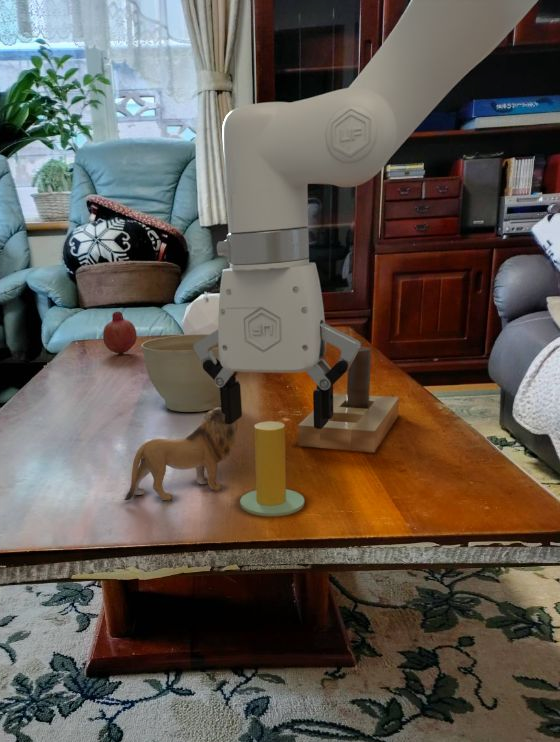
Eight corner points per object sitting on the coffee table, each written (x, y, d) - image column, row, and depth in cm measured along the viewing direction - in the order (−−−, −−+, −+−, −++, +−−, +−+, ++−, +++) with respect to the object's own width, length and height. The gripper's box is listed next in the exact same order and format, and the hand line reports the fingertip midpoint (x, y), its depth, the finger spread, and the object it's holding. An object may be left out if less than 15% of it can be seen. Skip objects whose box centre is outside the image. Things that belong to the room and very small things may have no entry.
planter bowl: (261, 407, 111) (259, 340, 107) (172, 425, 104) (167, 355, 100) (213, 389, 125) (210, 329, 121) (132, 404, 118) (126, 341, 114)
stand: (398, 416, 102) (399, 397, 101) (374, 453, 88) (374, 430, 87) (331, 412, 107) (331, 393, 105) (297, 446, 92) (297, 425, 91)
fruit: (119, 358, 157) (115, 314, 154) (97, 355, 163) (93, 312, 159) (145, 352, 163) (141, 309, 159) (123, 349, 168) (119, 308, 164)
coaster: (312, 495, 76) (312, 491, 76) (293, 520, 70) (293, 516, 70) (253, 488, 79) (253, 485, 79) (230, 511, 73) (230, 508, 73)
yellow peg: (289, 496, 75) (288, 422, 72) (280, 507, 72) (279, 431, 69) (262, 493, 76) (260, 420, 73) (252, 503, 74) (250, 428, 71)
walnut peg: (370, 421, 101) (372, 347, 97) (366, 427, 98) (368, 351, 94) (348, 419, 102) (350, 346, 98) (343, 426, 99) (345, 350, 95)
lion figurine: (225, 470, 85) (222, 400, 82) (248, 483, 80) (246, 409, 77) (116, 498, 78) (108, 423, 75) (135, 513, 74) (127, 434, 71)
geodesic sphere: (245, 334, 143) (243, 274, 147) (178, 337, 144) (177, 278, 148) (245, 365, 158) (243, 310, 161) (184, 368, 158) (183, 313, 162)
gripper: (171, 259, 66) (186, 429, 72) (349, 248, 58) (350, 438, 64) (203, 253, 72) (215, 410, 78) (368, 242, 64) (367, 416, 71)
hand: (276, 422), depth 71 cm, fingers open, 9 cm apart
